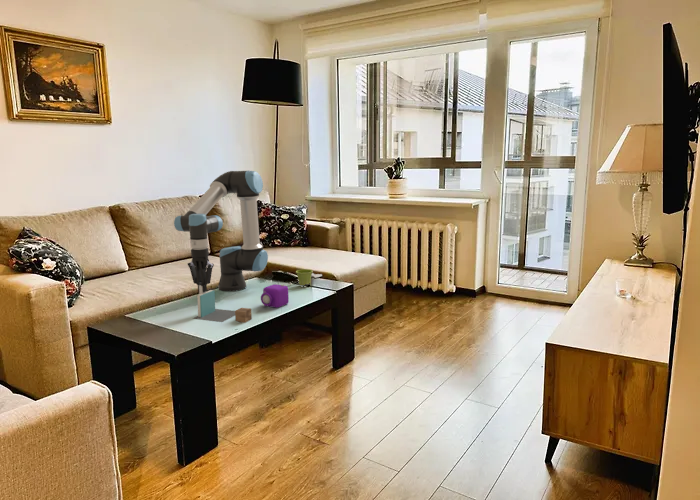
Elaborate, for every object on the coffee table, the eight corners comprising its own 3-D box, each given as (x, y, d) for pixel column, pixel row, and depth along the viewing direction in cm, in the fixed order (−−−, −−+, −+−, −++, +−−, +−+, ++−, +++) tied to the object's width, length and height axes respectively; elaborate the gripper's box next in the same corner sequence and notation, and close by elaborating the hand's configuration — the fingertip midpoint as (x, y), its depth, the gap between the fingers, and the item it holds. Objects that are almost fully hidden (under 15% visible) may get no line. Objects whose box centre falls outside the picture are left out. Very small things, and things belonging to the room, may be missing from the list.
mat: (213, 309, 234) (213, 308, 234) (242, 312, 229) (242, 311, 229) (192, 319, 220) (192, 318, 220) (222, 322, 214) (222, 322, 214)
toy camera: (257, 309, 234) (256, 288, 232) (271, 301, 247) (270, 282, 245) (277, 310, 230) (276, 290, 229) (290, 303, 243) (290, 283, 241)
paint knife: (300, 288, 275) (300, 283, 274) (279, 286, 280) (278, 281, 280) (324, 276, 302) (324, 272, 301) (304, 274, 307) (304, 271, 307)
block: (242, 318, 220) (241, 307, 220) (251, 319, 219) (251, 308, 218) (235, 321, 216) (235, 310, 215) (245, 322, 214) (244, 311, 213)
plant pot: (312, 288, 272) (311, 272, 270) (295, 288, 272) (294, 273, 270) (313, 284, 281) (313, 269, 280) (297, 284, 281) (296, 269, 280)
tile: (211, 310, 231) (211, 289, 229) (215, 311, 231) (214, 290, 229) (198, 316, 222) (197, 295, 220) (201, 317, 221) (201, 295, 219)
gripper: (182, 248, 220) (186, 299, 224) (206, 250, 216) (209, 302, 220) (193, 246, 227) (196, 295, 231) (216, 247, 223) (219, 297, 227)
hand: (203, 298), depth 225 cm, fingers closed
